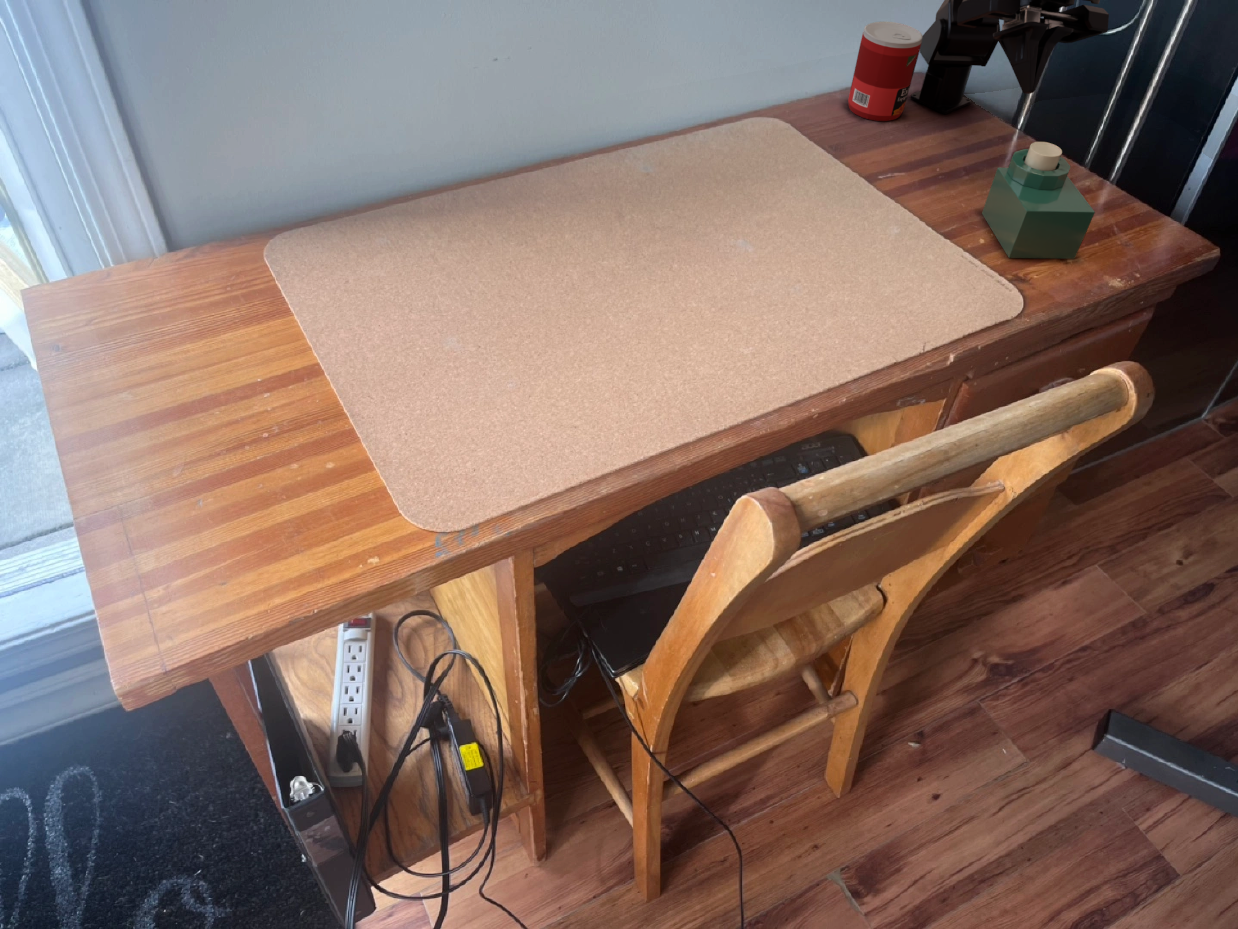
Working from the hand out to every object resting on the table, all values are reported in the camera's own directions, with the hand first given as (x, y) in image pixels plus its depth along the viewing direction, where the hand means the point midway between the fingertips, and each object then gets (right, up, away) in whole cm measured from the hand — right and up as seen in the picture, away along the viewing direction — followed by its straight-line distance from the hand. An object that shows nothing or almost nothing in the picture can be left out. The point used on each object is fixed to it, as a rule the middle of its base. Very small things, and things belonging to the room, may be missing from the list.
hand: (1028, 92), depth 117 cm
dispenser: (0, -17, +1) cm, 17 cm away
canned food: (-12, +6, +24) cm, 28 cm away
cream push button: (0, -9, -2) cm, 10 cm away
